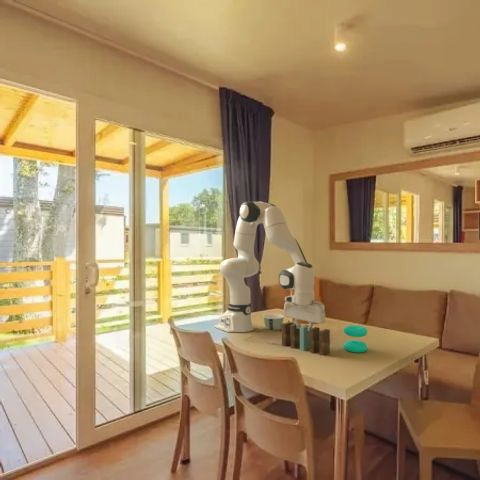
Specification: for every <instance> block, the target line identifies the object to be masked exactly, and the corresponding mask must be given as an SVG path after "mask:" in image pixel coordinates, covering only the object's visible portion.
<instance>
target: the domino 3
mask: <svg viewBox="0 0 480 480" xmlns="http://www.w3.org/2000/svg"><path fill="white" fill-rule="evenodd" d="M307 327H309V325H307V324H306V325H303V326H302V325H301V327H300V346H299V350H300V351H303V352H304V351H306V350H309V331H307Z"/></svg>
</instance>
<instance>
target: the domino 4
mask: <svg viewBox="0 0 480 480" xmlns="http://www.w3.org/2000/svg"><path fill="white" fill-rule="evenodd" d="M319 331H321V330H320V327H319V326H318V327H317V326H315V327H312V328H311V329H309V349H308V350H309V353H312V354H315V353H317V352H320V349H319Z"/></svg>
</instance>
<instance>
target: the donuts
mask: <svg viewBox="0 0 480 480" xmlns="http://www.w3.org/2000/svg"><path fill="white" fill-rule="evenodd" d="M343 332H344V334H345V335H346V336H349V337H353V338H363V337H365V336H366V335H368V332H369V331H368V329H367V328H366V327H365V326H362V325H354V324H351V325H347V326H344V328H343ZM343 348H344V349H345V350H346V351H348V352H350V353H359V354H360V353H365V352H366V351H368V348H369V347H368V344H366V343H365V342H364V341H361V340H357V339H353V340H352V339H350V340H347V341H345V342H344V344H343Z"/></svg>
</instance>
